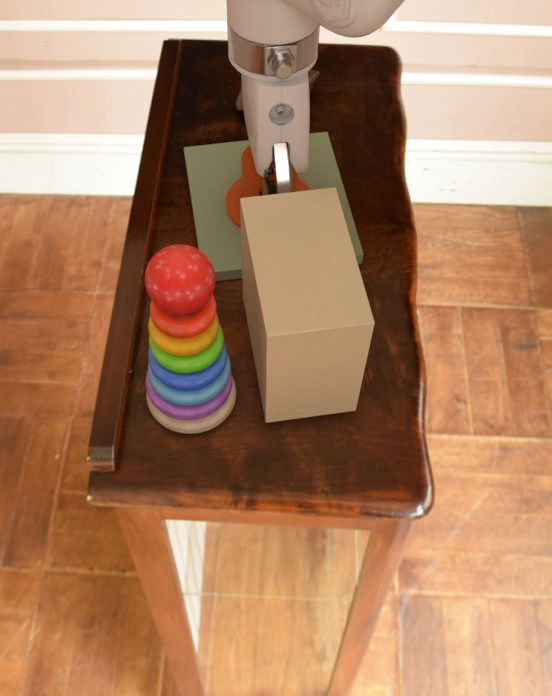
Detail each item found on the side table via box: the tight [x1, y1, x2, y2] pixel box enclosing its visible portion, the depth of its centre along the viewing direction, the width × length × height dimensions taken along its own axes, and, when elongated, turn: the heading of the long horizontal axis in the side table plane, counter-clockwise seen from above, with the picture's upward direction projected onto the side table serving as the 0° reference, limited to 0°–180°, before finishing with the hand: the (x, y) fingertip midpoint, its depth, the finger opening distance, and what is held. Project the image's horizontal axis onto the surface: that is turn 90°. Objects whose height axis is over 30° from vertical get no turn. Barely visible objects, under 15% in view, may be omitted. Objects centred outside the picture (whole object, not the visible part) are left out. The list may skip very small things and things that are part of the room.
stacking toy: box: [144, 243, 238, 435], centre depth 62 cm, size 8×8×19 cm
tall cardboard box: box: [240, 187, 376, 424], centre depth 66 cm, size 8×14×14 cm, turn 9°
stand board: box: [183, 131, 364, 282], centre depth 81 cm, size 16×18×2 cm
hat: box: [226, 145, 310, 229], centre depth 77 cm, size 9×9×6 cm
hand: (270, 196), depth 79 cm, fingers closed on hat, 5 cm apart
